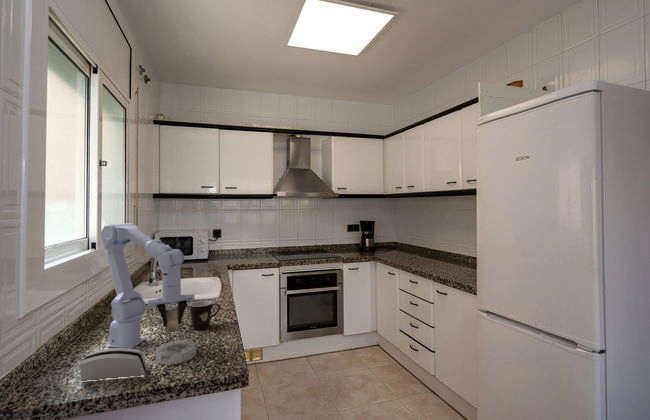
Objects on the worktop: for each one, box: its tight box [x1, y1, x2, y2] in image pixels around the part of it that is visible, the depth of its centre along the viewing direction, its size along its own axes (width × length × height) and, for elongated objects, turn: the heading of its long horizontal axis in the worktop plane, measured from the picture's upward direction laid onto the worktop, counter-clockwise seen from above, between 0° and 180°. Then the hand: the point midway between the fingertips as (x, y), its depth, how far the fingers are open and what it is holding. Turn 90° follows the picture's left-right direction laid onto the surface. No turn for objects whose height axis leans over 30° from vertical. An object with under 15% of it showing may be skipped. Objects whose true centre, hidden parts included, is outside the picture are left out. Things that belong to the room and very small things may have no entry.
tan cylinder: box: [165, 307, 180, 333], centre depth 113 cm, size 4×4×7 cm
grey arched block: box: [79, 347, 150, 382], centre depth 95 cm, size 17×5×10 cm, turn 100°
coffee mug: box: [189, 300, 221, 332], centre depth 135 cm, size 12×9×10 cm
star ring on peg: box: [155, 339, 197, 365], centre depth 108 cm, size 12×12×3 cm
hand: (172, 324), depth 113 cm, fingers closed on tan cylinder, 4 cm apart
